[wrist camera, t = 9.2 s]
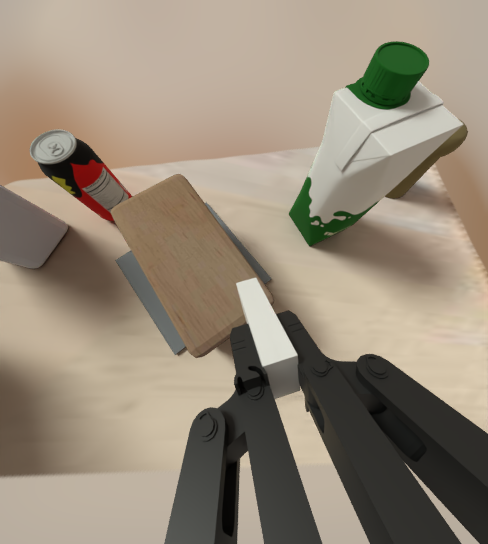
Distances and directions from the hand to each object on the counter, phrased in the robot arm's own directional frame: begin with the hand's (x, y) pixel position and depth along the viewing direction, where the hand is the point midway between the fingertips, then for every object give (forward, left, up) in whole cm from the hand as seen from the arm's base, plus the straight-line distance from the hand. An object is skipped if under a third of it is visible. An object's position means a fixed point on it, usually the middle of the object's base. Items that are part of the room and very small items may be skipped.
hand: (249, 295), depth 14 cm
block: (+2, -2, -10) cm, 10 cm away
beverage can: (-28, -7, -15) cm, 33 cm away
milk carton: (-4, +19, -15) cm, 25 cm away
